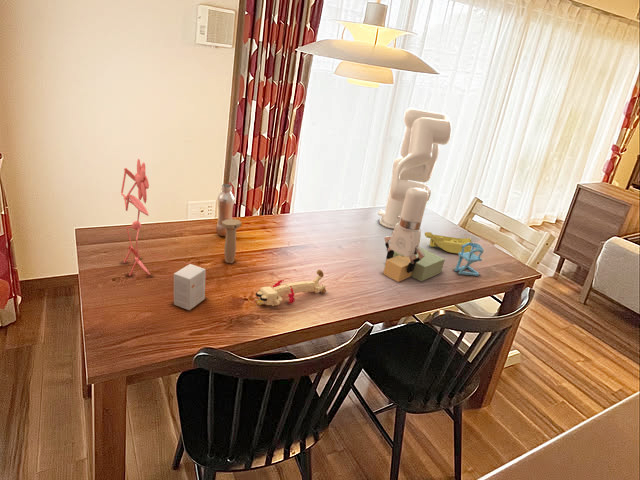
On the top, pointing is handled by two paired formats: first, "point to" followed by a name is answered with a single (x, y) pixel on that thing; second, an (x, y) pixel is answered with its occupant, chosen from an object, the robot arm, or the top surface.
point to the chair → (469, 259)
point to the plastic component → (449, 243)
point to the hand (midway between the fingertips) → (399, 266)
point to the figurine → (137, 206)
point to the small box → (189, 286)
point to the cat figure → (288, 290)
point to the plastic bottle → (224, 207)
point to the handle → (230, 239)
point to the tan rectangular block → (397, 268)
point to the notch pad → (426, 265)
